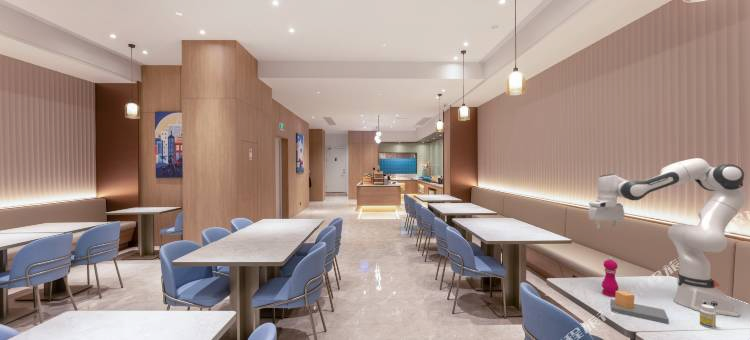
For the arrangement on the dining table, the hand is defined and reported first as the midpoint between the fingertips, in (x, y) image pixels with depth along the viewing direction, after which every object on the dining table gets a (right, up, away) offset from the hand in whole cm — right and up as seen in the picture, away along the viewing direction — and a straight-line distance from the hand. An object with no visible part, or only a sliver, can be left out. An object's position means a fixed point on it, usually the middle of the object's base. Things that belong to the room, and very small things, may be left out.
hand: (606, 228), depth 179 cm
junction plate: (-6, -34, -29) cm, 45 cm away
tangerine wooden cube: (-10, -32, -26) cm, 43 cm away
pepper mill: (-3, -34, -7) cm, 35 cm away
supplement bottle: (+15, -35, -40) cm, 55 cm away
